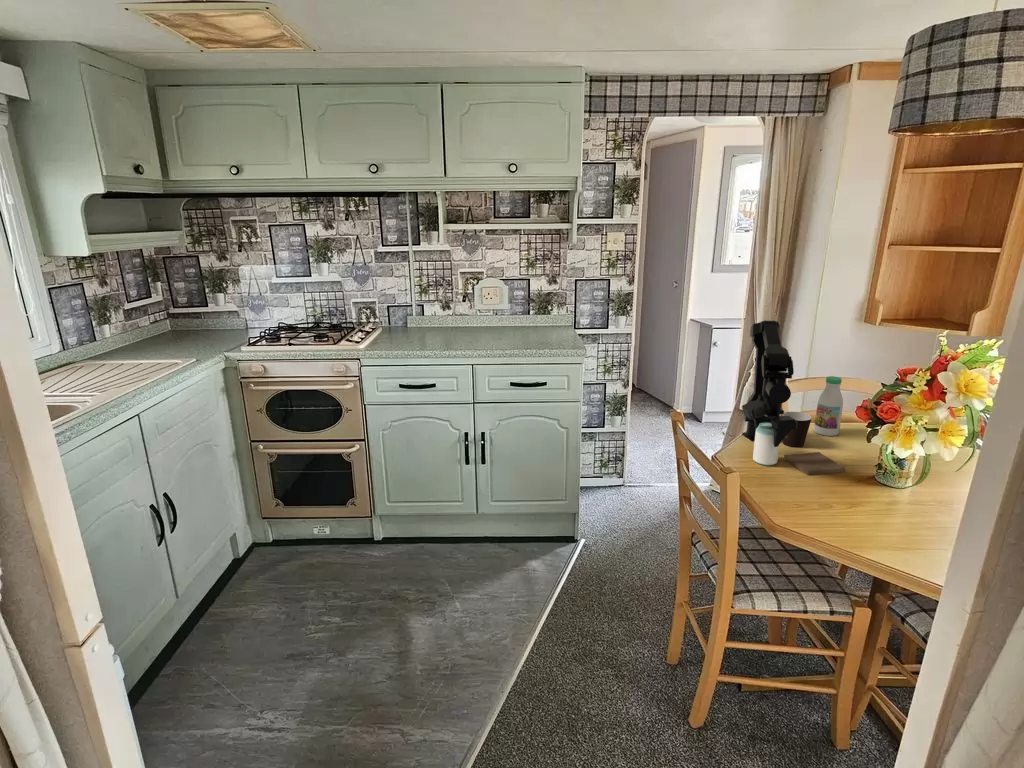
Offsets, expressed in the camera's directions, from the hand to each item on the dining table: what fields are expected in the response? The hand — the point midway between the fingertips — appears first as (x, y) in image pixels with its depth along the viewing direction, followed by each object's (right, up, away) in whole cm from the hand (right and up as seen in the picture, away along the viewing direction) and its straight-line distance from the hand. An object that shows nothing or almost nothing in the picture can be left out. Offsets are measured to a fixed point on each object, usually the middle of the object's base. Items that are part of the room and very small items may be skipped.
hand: (767, 440), depth 177 cm
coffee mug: (+16, -2, +16) cm, 23 cm away
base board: (+14, -7, -1) cm, 16 cm away
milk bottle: (+31, 0, +24) cm, 39 cm away
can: (0, -7, +2) cm, 7 cm away
